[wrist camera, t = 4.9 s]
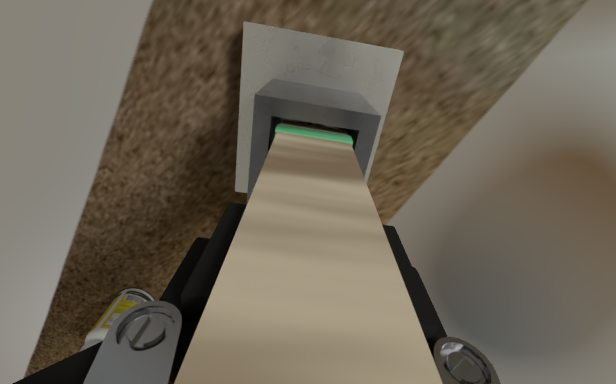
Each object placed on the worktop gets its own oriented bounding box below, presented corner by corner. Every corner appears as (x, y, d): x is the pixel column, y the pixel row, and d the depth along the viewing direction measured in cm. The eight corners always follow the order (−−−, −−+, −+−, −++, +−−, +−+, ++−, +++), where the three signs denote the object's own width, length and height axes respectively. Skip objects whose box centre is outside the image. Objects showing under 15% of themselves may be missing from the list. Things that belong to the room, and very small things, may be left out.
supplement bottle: (130, 315, 38) (85, 382, 31) (111, 290, 36) (58, 354, 29) (163, 310, 38) (126, 376, 30) (145, 284, 36) (101, 348, 28)
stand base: (249, 23, 23) (207, 9, 14) (397, 50, 23) (448, 54, 14) (239, 182, 29) (207, 243, 20) (356, 199, 30) (374, 266, 21)
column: (280, 117, 18) (144, 426, 3) (347, 128, 18) (484, 460, 4) (273, 179, 20) (166, 543, 5) (334, 188, 20) (388, 560, 6)
